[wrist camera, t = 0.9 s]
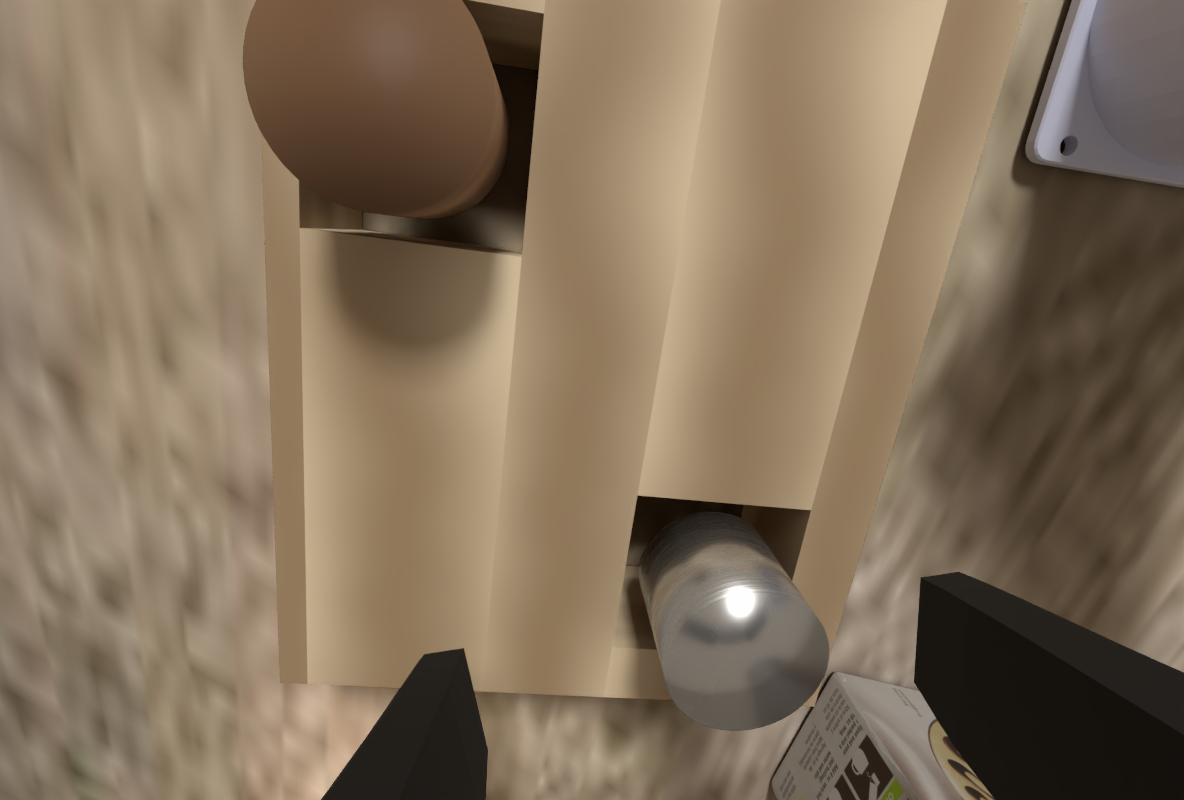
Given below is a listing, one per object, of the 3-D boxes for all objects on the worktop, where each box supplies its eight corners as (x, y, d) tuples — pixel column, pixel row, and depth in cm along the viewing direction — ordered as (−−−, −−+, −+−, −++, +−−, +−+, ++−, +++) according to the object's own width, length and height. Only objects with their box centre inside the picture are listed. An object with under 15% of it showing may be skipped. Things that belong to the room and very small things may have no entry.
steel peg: (780, 516, 15) (848, 599, 11) (752, 628, 16) (807, 733, 12) (650, 505, 14) (680, 587, 11) (630, 620, 15) (652, 727, 12)
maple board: (905, 61, 15) (1027, 2, 11) (763, 616, 20) (814, 706, 16) (335, -43, 13) (251, -153, 10) (335, 589, 18) (279, 682, 15)
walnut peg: (517, 46, 11) (503, -34, 8) (502, 230, 12) (484, 228, 9) (333, 15, 11) (236, -84, 7) (333, 206, 12) (248, 196, 8)
